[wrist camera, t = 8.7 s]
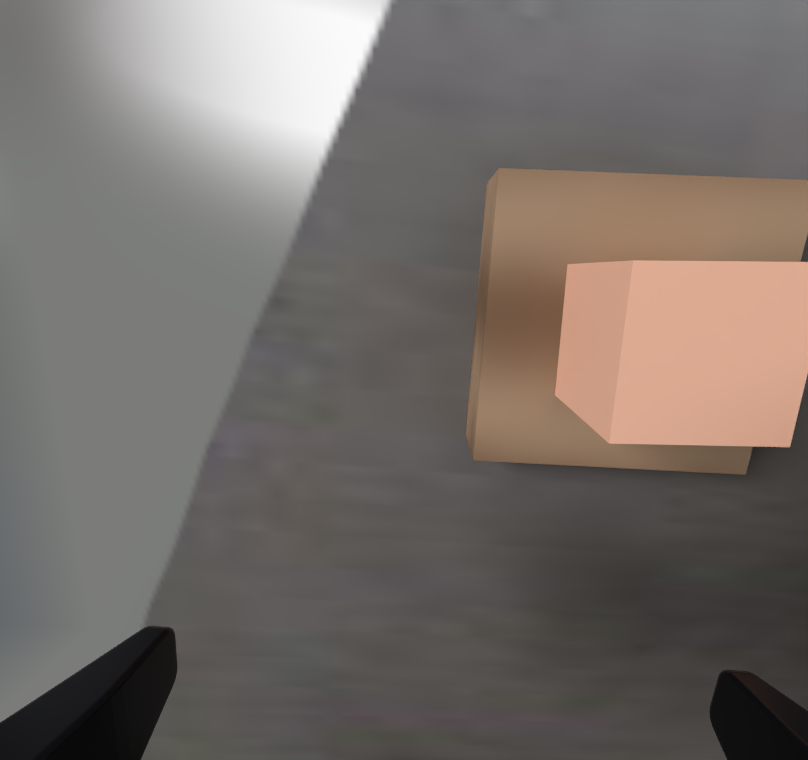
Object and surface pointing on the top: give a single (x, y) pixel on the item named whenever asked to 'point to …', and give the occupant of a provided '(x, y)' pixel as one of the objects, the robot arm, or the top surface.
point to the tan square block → (590, 243)
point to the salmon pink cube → (685, 350)
